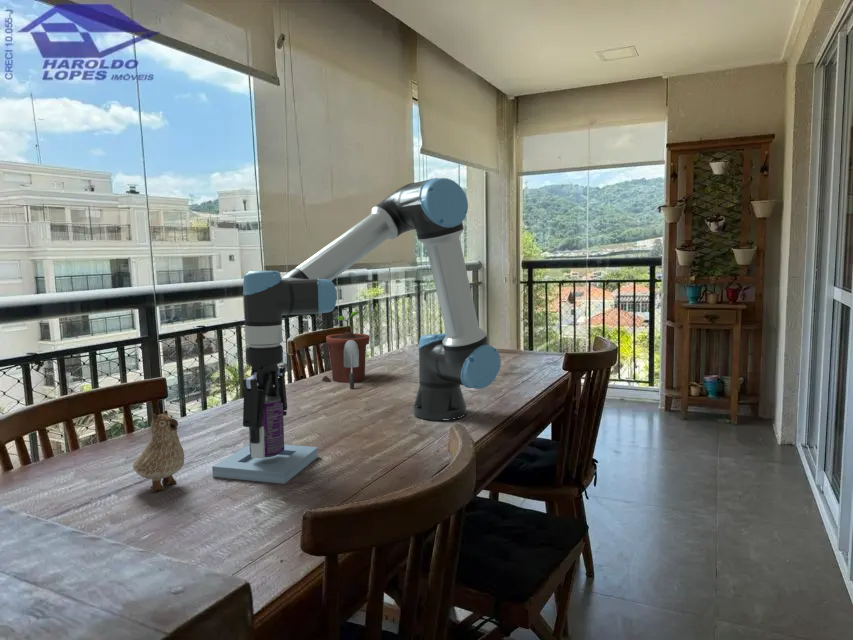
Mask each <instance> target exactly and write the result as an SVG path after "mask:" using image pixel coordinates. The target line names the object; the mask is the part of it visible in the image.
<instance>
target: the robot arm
mask: <svg viewBox="0 0 853 640" xmlns="http://www.w3.org/2000/svg"><path fill="white" fill-rule="evenodd" d="M468 211H469V202H468V197H467V194H466V193H465V191H464V189H463V188H462V186H461V185H460V184H459V183H457V182H455V181H454V180H453V179H451V178H447V177H446V178H445V177H434V178H430V179H426V180H423V181H422V180H421V181H417V182H411V183H407V184H405V185H403V186H401V187H399V188H398V189H396V190H395V191H393V192H392V193H390V194H389V195H388V196H387V197H386V198H384V199H383V200H382V201H380V202H379V203H378V204H376V205H375V206H373V207H372V208H371V210H370V214H369V215H368V216H366V217H365V218H363V219H362V220H361V221H359V222H358V223H356V224H355V225H353V226H352V227H350V228H349V229H348V230H347V231H345V232H344V233H343V234H341V235H340V236H339V237H337V238H335V239H334V240H333V241H330V243H328V244H327V245H325V246H324V247H323V248H321V249H320V250H319V251H317V252H316V253H315V254H313V255H312V256H310V257H309V258H308V259H306V260H305V261H303V262H302V263H300V264H299V265H298V266H296V267H295V268H293V269H292V270H290V271H289V272H288V273H286V274H285V275H283V276H282V275H281V272H280V271H278V270H251V271H249V270H248V271H246V273H245V274H244V275H243V282H242V284H243V285H242V286H243V290H242V295H243V310H244V311H243V312H244V314H243V315H244V331H243V332H244V337H245V339H244V340H245V344H247V346H246V347H245V348H244V349H245V362H246V364H247V365H249V366H250V367H251V372H250V376H249V377H244V378H242V387H243V407H242V410H243V411H242V412H243V414H242V426H243V427H244V428H248V429H249V428H250V438H251V439H250V441H251V457H252V458H264V457H265V446H264V427H262V426H261V424H262V418H263V410H264V402H265V398H266V395H267V396H271V397H274V396H279V397H280V398H281V400H280V401H281V403H282V405H283V417H285V416H287V414H288V412H287V410H288V400H287V390H286V388H287V387H286V367H284V366H278V365H279V364H282V363H283V361H284V353H283V352H284V351H283V350H284V348H283V346H282V343H283V342H284V340H283V337H284V336H283V316H290V315H293V316H294V315H310V314H314V315H315V314H318V315H321V314H327V313H330V312H333V311H334V309H335V308H336V305H337V298H338V297H337V289H336V285H335V284H334V282H333V280H334V279H335V278H337V277H339V275H342V273H343V272H345V271H347V270H348V269H349V268H351V267H352V266H353V265H355V264H356V263H357V262H359V261H360V260H362V258H364V257H365V256H367V255H368V254H370V253H371V252H373V250H375V249H376V248H377V247H380V245H381V244H383V243H384V242H386V241H387V240H395V239H396V238H397V237H399V236H400V235H402V234H404V233H407V232H409V231H414V230H415V232H416V236H417V240H418V241H419V242H420V243H422V244H423V245H424V246H425V248H426V253H427V256H428V257H427V258H428V260H429V261H428V262H429V265H430V270H431V273H432V274H431V275H432V279H433V284H434V286H435V291H436V294H437V295H436V297H437V299H438V305H439V308H440V312H441V317H442V320H443V325H444V329H445V330H444V331H445V332H443V333H433V334H425V335H422V336H421V337H420V339H419V342H418V354H419V355H418V359H419V360H418V361H419V362H418V365H419V366H418V367H419V368H418V370H419V372H418V375H419V376H418V377H419V382H418V383H419V385H418V390H417V393H416V396H415V399H414V403H413V407H412V410H413V412H412V414H413V416H415V417H416V418H418V417H419V419H422V420H426V419H430V420H429V421H437V420H443V419H453V418H458V417H461V416H463V415H465V414H466V415H467V404H466V401H465V398H464V397H465V396H464V395H463V391H462V389H461V386H464V387H465V388H468V389H475V390H482V389H485V388H487V387H489V386H490V385H492V383H494V381H495V380H496V379H497V375H498V374H499V373H500V369H501V364H502V363H501V361H502V359H501V355H500V353H499V351H498V350H497V348H495V347H494V346H493V345H491V344H489V340H488V336H487V332H486V331H485V330H484V329H482V328H480V326H479V322H478V317H477V313H476V308H475V303H474V300H473V294H472V289H471V285H470V280H469V276H468V272H467V267H466V261H465V258H464V257H465V256H464V252H463V248H462V243H461V239H460V236H461V235H462V233H463V231H465V228H464V223H463V222H464V220H465V219H466V214H467V213H468ZM466 415H465V416H466ZM250 441H249V442H250Z"/></svg>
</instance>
